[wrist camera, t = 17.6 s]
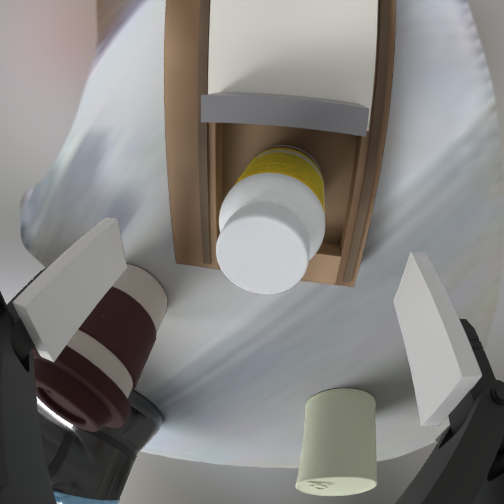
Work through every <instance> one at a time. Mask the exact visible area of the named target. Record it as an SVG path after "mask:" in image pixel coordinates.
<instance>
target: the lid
mask: <svg viewBox="0 0 504 504" xmlns="http://www.w3.org/2000/svg"><path fill="white" fill-rule="evenodd" d="M377 13H378V0H211V3H210V27H209V62H208V94H206V95H201V122H213V123H242V124H260V125H274V126H285V127H296V128H305V129H314V130H322V131H330V132H337V133H344V134H351V135H357V136H363V137H366V133H367V131H369V123H370V115H371V106H372V96H373V85H374V73H375V59H376V42H377Z"/></svg>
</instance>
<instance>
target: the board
mask: <svg viewBox="0 0 504 504" xmlns="http://www.w3.org/2000/svg"><path fill="white" fill-rule="evenodd" d="M210 3H211V0H166V11H165V39H164V106H165V136H166V156H167V172H168V187H169V199H170V211H171V222H172V232H173V241H174V250H175V259H176V263H179V264H185V265H192V266H199V267H206V268H213V269H220V270H221V268H220V266H219V264H218V261H217V256H216V244H217V240H218V237H219V235H220V228H219V214H220V209H221V206H222V203H223V201H224V199H225V197H226V195H227V194H228V192H229V191H230V189H231V188H232V186H233V185H234V184H235V182H236V181H237V180H238V178H239V177H240V175H241V174H242V173H243V171H244V170H245V168H246V167H247V166H248V164H249V163H250V162H251V160H252V159H253V158H254V157H255V156H256V155H257V154H258V153H260V152H261V151H263V150H265V149H267V148H270V147H273V146H278V145H288V146H293V147H297V148H299V149H301V150H303V151H305V152H307V153H308V154H309V155H310V156H312V157H313V158H314V160H315V161H316V162H317V164H318V165H319V167H320V169H321V172H322V175H323V180H324V202H325V233H324V238H323V241H322V244H321V246H320V248H319V250H318V251H317V253H316V254H315V255H314V256H313V257H312V258H311V259H310V260H309V262H308V267H307V270H306V272H305V274H304V276H303V277H302V279H301V281H309V282H317V283H325V284H333V285H341V286H349V287H354V285H355V281H356V278H357V274H358V270H359V266H360V262H361V258H362V254H363V250H364V246H365V242H366V238H367V234H368V229H369V225H370V220H371V216H372V211H373V206H374V201H375V196H376V191H377V186H378V181H379V175H380V170H381V164H382V158H383V152H384V145H385V138H386V131H387V124H388V116H389V108H390V99H391V89H392V78H393V66H394V51H395V28H396V0H378V13H377V42H376V59H375V73H374V85H373V96H372V106H371V115H370V123H369V131H367V133H366V137H363V136H357V135H351V134H344V133H337V132H330V131H322V130H314V129H305V128H296V127H285V126H274V125H260V124H242V123H213V122H201V95H206V94H208V62H209V27H210Z"/></svg>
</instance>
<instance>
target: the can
mask: <svg viewBox="0 0 504 504" xmlns="http://www.w3.org/2000/svg"><path fill="white" fill-rule="evenodd" d="M375 407H376V401H375V399H374V397H373V396H372V395H370V394H369V393H367V392H365V391H362V390H358V389H352V388H338V389H331V390H326V391H323V392H320V393H318V394H316V395H314V396H312V397H311V398H310V399H309V400H308V401H307V403H306V405H305V411H306V413H305V426H304V435H303V443H302V451H301V459H300V465H299V472H298V478H297V483H296V488H297V489H298V490H299V491H302V492H305V493H308V494H313V495H322V496H342V495H351V494H357V493H361V492H365V491H368V490H370V489H372V488H374V487H375V486H376V485H377V473H376V472H377V468H376V467H377V466H376V424H375Z"/></svg>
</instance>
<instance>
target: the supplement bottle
mask: <svg viewBox="0 0 504 504" xmlns="http://www.w3.org/2000/svg"><path fill="white" fill-rule="evenodd" d="M219 228H220V235H219V237H218V240H217V244H216V256H217V261H218V264H219V266H220V268H221V270H222V271H223V273H224V274H225V275H226V277H227V278H228V279H229V280H230V281H231V282H233V283H234V284H235V285H237V286H238V287H240V288H242V289H244V290H247V291H249V292H253V293H257V294H276V293H280V292H283V291H286V290H288V289H290V288H292V287H293V286H295V285H296V284H297V283H298V282H299V281H300V280H301V279H302V277H303V276H304V274H305V272H306V270H307V267H308V262H309V260H310V259H311V258H312V257H313V256H314V255H315V254H316V253H317V251H318V250H319V248H320V246H321V244H322V241H323V238H324V233H325V202H324V180H323V175H322V172H321V169H320V167H319V165H318V164H317V162H316V161H315V160H314V158H313V157H312V156H310V155H309V154H308V153H307V152H305V151H303V150H301V149H299V148H297V147H293V146H288V145H278V146H273V147H270V148H267V149H265V150H263V151H261V152H260V153H258V154H257V155H256V156H255V157H254V158H253V159H252V160H251V162H250V163H249V164H248V166H247V167H246V168H245V170H244V171H243V173H242V174H241V175H240V177H239V178H238V180H237V181H236V182H235V184H234V185H233V186H232V188H231V189H230V191H229V192H228V194H227V195H226V197H225V199H224V201H223V203H222V206H221V209H220V214H219Z"/></svg>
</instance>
